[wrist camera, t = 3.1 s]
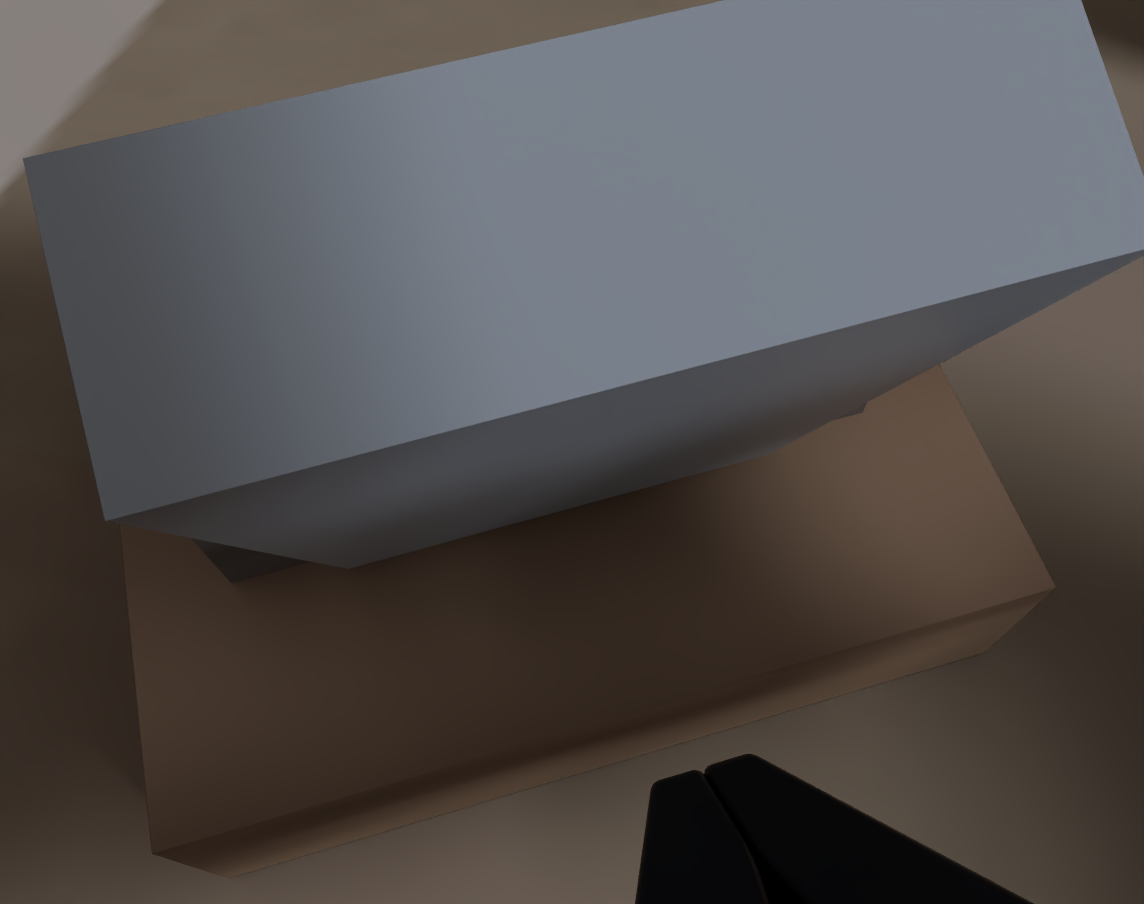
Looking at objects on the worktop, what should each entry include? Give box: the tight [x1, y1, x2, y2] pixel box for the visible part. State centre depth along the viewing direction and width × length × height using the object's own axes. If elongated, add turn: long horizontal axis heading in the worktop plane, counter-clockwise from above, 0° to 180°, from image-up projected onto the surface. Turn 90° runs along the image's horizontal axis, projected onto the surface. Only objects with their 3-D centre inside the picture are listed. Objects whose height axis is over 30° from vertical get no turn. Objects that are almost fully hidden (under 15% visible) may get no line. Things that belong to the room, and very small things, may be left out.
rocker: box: [23, 0, 1144, 569], centre depth 11 cm, size 2×6×10 cm, turn 107°
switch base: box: [120, 364, 1056, 878], centre depth 16 cm, size 10×12×5 cm
